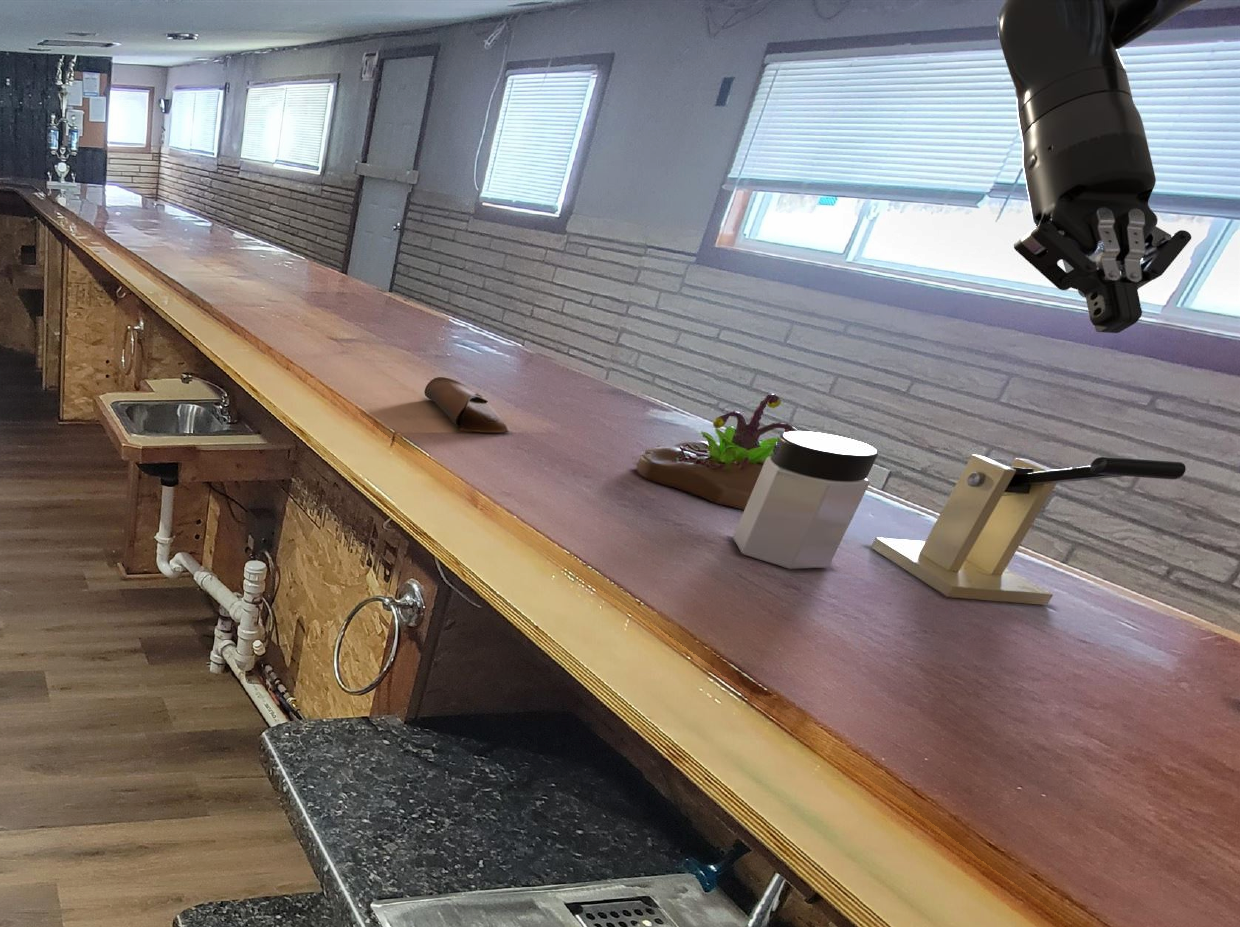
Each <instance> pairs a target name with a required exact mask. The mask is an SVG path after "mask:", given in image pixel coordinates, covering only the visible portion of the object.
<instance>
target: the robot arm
mask: <svg viewBox="0 0 1240 927" xmlns="http://www.w3.org/2000/svg"><path fill="white" fill-rule="evenodd" d="M1204 1H1206V0H1005V2H1004V3H1003V5H1002V7H1001V9H1000V11H999V15H998V17H997V22H996V23H997V24H996V30H997V35H998V40H999V43H1000V44H999V45H1000V48H1001V50H1002V54H1003V57H1004V61H1005V63H1006V67H1007V70H1008V73H1009V75H1010V78H1011V81H1012V84H1013V86H1014V91H1015V99H1016V111H1017V112H1016V114H1017V121H1018V126H1019V132H1020V136H1021V141H1022V169H1023V175H1024V179H1025V183H1026V190H1027V197H1028V201H1029V206H1030V212H1031V217H1032V222H1033V224H1034V225H1035V226H1036V227H1035V228H1033V229H1032V230H1031V231H1029V232H1028V233H1027V234H1025V235H1024V236H1023V237H1021V238H1020V239H1019V240H1018V241H1016V242H1015V243H1014V244H1013V249H1014V250H1015V251H1016V253H1018V254H1019V255H1020V256H1021V257H1022V258H1023V259H1025V260H1026V261H1027V262H1028V263H1029V264H1030V265H1031V266H1032V267H1034V268H1035V269H1036V270H1037V271H1038V272H1039V273H1040V274H1041V275H1043V277H1045V278H1046V279H1047V280H1048V281H1049V282H1050V283H1051V284H1052V285H1054V287H1056V288H1057V289H1058V290H1060V291H1068V290H1069V289H1074V290H1076V291H1077V293H1078V294H1079V295H1080V296H1081V297H1082V298H1085V301H1086V305H1087V310H1088V314H1089V315H1088V316H1089V320H1090V322H1091V324H1092V325H1093V326H1094V329H1095V332H1097V333H1108V334H1119V333H1121V332H1123V331H1124V330H1126V329H1128V328H1130V327H1131V326H1133V325H1136V324H1137V323H1138V322H1139V320H1140V318H1141V317H1142V314H1143V309H1142V305H1141V301H1140V296H1139V289H1140V288H1142V287H1143V286H1145V285H1147V284H1149V283H1150V282H1152V281H1153V280H1156V279H1158V278H1159V277H1161V276H1162V275H1163V274H1164V273H1165V272H1166V271H1167V269H1168V268H1169V267H1170V266H1171V265H1172V263H1173V262H1174V261H1175V260H1176V258H1177V257H1178V256H1179V255H1180V254H1181V252H1183V250H1184V249H1185V247H1187V245H1188V244H1189V243H1190V241H1191V240H1192V235H1191V233H1190V232H1188V231H1187V230H1184V229H1181V230H1180V229H1179V230H1178V231H1175V233H1172V234H1170V233H1169V232H1166V231H1165V230H1163V229H1161V227H1158V226H1157V225H1158V219H1159V218H1158V216H1157V215H1156V213H1155V212H1154V211H1153V210H1152V209H1151V208H1150V205H1149V200H1150V197H1151V195H1152V193H1153V192H1154V188H1155V186H1156V182H1157V178H1156V173H1155V168H1154V165H1153V161H1152V157H1151V152H1150V149H1149V143H1148V139H1147V135H1146V130H1145V126H1144V123H1143V118H1142V116H1141V113H1140V112H1139V109H1138V108H1137V107H1136V104H1135V102H1134V99H1133V94H1132V91H1131V90H1132V89H1131V87H1130V80H1129V77H1128V74H1127V71H1126V67H1125V65H1124V63H1123V60H1122V58H1121V56H1120V54H1119V52H1118V50H1120V49H1121V48H1123V47H1125V46H1127V45H1128V44H1130V43H1132V42H1133V41H1135V40H1137V39H1138V38H1141V36H1144V35H1145V34H1147V33H1149V32H1151V31H1152V30H1154V29H1155V28H1157V27H1159V26H1161V25H1162V24H1164V23H1165V22H1167V21H1169V19H1171V18H1173V17H1175V16H1177V15H1178V14H1179V13H1181V12H1182V11H1184V10H1186V9H1188V8H1190V7H1192V6H1195V5H1197V4H1199V3H1202V2H1204ZM1061 260H1062V264H1063V266H1064V269H1063V268H1062V267H1061V266H1060V265H1058V264H1059V261H1061Z"/></svg>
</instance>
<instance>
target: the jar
mask: <svg viewBox="0 0 1240 927" xmlns="http://www.w3.org/2000/svg"><path fill="white" fill-rule="evenodd" d="M778 438H779V439H778V442H777V443H776V444H775V446H774V449H773V453H772V456H768V457H767V458H766V460H765V463H764V465H763V467H762V470H761V472H760V474H759V477H758V479H757V481H756V484H755V486H754V489H753V491H752V493H751V496H750V498H749V500H748V503H747V505H746V508H745V510H743V512H742V514H741V517H740V519H739V522H738V524H737V527H736V529H735V532H734V533H733V536H732V539H733V541H734V542H735V545H736V546H737V548H738V549H739V551H740V552H741V554H742V555H744V556H747V557H749V558H753V559H757V560H760V561H763V562H766V563H769V564H772V565H775V566H778V567H781V568H785V569H788V570H799V569H800V570H802V569H826V568H828V567H830V565H831V563H832V561H833V559H834V556H835V555H836V552H837V551H838V549H839V547H840V545H841V543H842V540H843V538H844V537H845V534H846V533H847V531H848V528H849V526H850V524H851V522H852V520H853V519H854V516H855V514H856V512H857V510H858V508H859V505H860V503H861V501H862V500H863V497H864V496H865V493H866V491H867V489H868V487H869V486H870V483H871V481H870V480H869V479H868V476H869V474H870V472H871V471H872V468H873V465H874V464H875V461H876V460H877V457H878V456H879V452H878V450H877V449H876V448H875V447H873V446H871V445H869V444H868V443H865V442H862V441H858V440H856V439H851V438H848V437H844V436H839V435H835V434H828V433H824V432H823V433H822V432H814V431H805V430H804V431H802V430H797V431H791V432H785V431H784V432H783V433H781V434H780V435H779V437H778Z"/></svg>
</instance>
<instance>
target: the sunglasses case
mask: <svg viewBox="0 0 1240 927" xmlns="http://www.w3.org/2000/svg"><path fill="white" fill-rule="evenodd" d="M423 391H424V392H423V393H424V396H425V397H426V398H427V399H429V400H430V401H432V402H434V403H435V404H436V405H437V406H438V407H439V408H440V409H441V410H442V411H443V412H444V414H446V415H447V417H448V418H449V419H450V420H451V421H452V422H453V423H454V424H455V425H456V426H457V428H458V430H459V431H460V432H467V433H475V434H506V433H509V432H510V431H509V428H508V426H507V424H506V423H505V421H504V420H503V419H502V418H501V416H500V415H499V414H498V412H497V411H496V410H495V409H494V408H493V407H491V406H490V404H489V403H488V402H489V400H488V399H487V398H486V397H485V396H483V395H482V394H480V393H479V392H477V391H475V390H474V389H472V388H470V387H469V386H468V385H466V384H464V383H462V382H460V381H458V380H455V379H452V378H449V377H444V376H438V377H437V376H436V377H434V378H433V379H431V380H430V381H429V382H428V383H427V384H426V385H425V388H424V390H423Z"/></svg>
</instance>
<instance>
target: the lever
mask: <svg viewBox="0 0 1240 927" xmlns="http://www.w3.org/2000/svg"><path fill="white" fill-rule="evenodd" d="M1009 467H1010V468H1012V469H1015V470H1016V472H1015V474H1014V476H1013V477H1012V479H1011V481H1010V483H1009V484H1008V486H1007V488H1006V490H1005V491H1004V493H1003V495H1002V496H1010V495H1022V494H1029V493H1030V487H1031V485H1040V484H1051V483H1057V484H1060V483H1061V484H1062V483H1069V482H1080V481H1091V480H1101V479H1110V478H1111V479H1112V478H1121V477H1132V478H1145V479H1161V480H1178V479H1180V478H1181V477H1183V476H1184V475H1185V473H1186V470H1187V467H1186V465H1185V464H1184V463H1183V462H1180V461H1171V460H1169V461H1168V460H1156V459H1143V458H1129V457H1128V458H1127V457H1115V456H1113V457H1112V456H1098V457H1096V458H1094V459H1093V460H1092V462H1091V463H1090V465H1087V466H1080V467H1069V468H1061V469H1053V470H1052V471H1043V472H1034V473H1033V470H1034V469H1031V468H1017V467H1011V466H1009Z"/></svg>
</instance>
